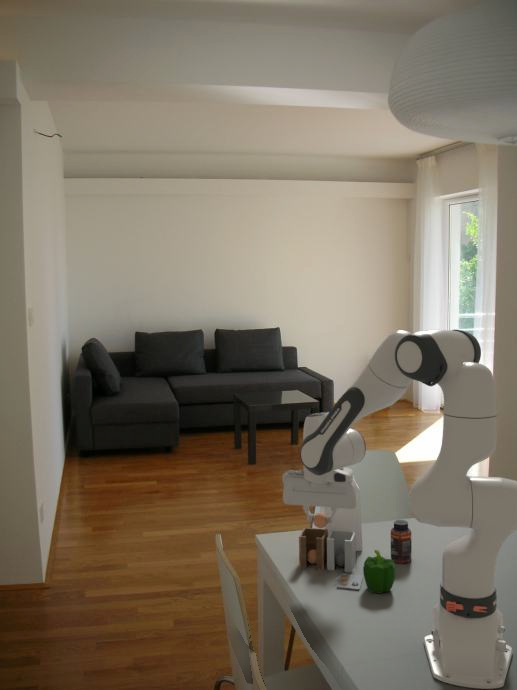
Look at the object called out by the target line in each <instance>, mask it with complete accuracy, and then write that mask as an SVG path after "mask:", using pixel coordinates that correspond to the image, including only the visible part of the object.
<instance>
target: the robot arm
mask: <svg viewBox="0 0 517 690" xmlns="http://www.w3.org/2000/svg"><path fill="white" fill-rule="evenodd" d="M481 348H482V347H481V345H480V342H479V341H478V339H477V338H476V337H475V336H474V335H473V334H472V333H470V332H467V331H465V330H462V329H440V328H439V329H437V328H436V329H435V328H434V329H430V330H429V329H428V330H424V331H413V332H411V331H408V330H399V329H398V330H395V331H393V332H391V333H390V334H389V335H388V336H387V337H386V338H385V339H384V340H383V342H382V343H381V344H380V345H379V346H378V348H377V349H376V351H374V353H373V355H372V357H371V358H370V359H369V361H368V363H367V365H366V366H365V368H364V369H363V370H362V372H361V373H360V375H359V376H358V377H357V379H356V380H355V381H354V382H353V383H352V385H350V387H349V388H348V389H347V390H346V391H345V392H344V393H343V394H342V395H341V396H340V397H339V399H338V400H337V401H336V403H334V405H333V406H332V408H331V409H330V411H323V412H315V413H310V414H309V415H307V416H306V417H305V420H304V423H303V431H302V432H303V433H302V435H303V437H302V439H303V440H302V443H301V445H300V451H299V454H300V460H301V462H302V465H303V470H300V469H299V470H298V469H297V470H296V469H295V470H293V469H288V470H285V471H284V472H283V474H282V478H281V479H282V483H283V491H282V492H283V493H282V501H283V503H284V504H286V505H292V506H302V510H303V511H304V512H305V515H306V516H307V517H306V520H307V522H312V523H313V518H314V516H315V513H311V511H310V507H319V508H320V507H331V511H333V512H332V514H331V515H328V516H327V523H333V516H334V514H335V513H336V511H337V508H346V509H354V508H355V507H356V506H357V505H358V491H357V485H358V484H357V485H356V483H357V481H356V480H355V479H354V480H355V481H356V482H355V481H354V480H353V479H352V478H353V476H354V470H353V469H352V468H349V467H351V466H354V465H356V464H358V463H361V462H362V461H363V459H364V458H365V455H366V451H367V446H366V444H367V443H366V442H365V440H366V439H365V438H364V436H363V435H362V433H361V432H360V431H358V430H357V429H355V428H352V427H353V426H354V424H355V423H356V422H358V421H359V420H360V419H362V418H365V417H366V416H368V415H371V414H373V413H376V412H378V411H381V410H383V409H386V408H389V407H391V406H393V405H395V403H397V401H399V400H400V399H401V398H402V397H403V395H405V394H406V392H407V390H408V388H409V387H410V385H411V384H412V382H413V381H416V382H420V383H422V384H424V385H426V386H429V387H433V386H436V385H437V386H439V388H440V389H441V391H442V394H443V409H442V410H443V413H442V414H443V418H442V419H443V422H442V424H443V425H442V437H441V438H442V439H441V446H440V449H439V450H440V451H439V454H438V456H437V458H436V460H435V462H434V463H433V464H432V466H431V467H430V468H429V470H427V471H426V472H425V473H424V474H423V475H422V476H421V475H420V477H418V478H417V479H416V480H415V481H414V482H413V483H412V485H411V486H410V489H409V491H408V499H407V501H408V507H409V510H410V513H411V514H412V515H413V518H414V519H415V520H416V521H417V522H419V523H421V524H427V525H429V526H435V527H439V528H461V529H462V528H463V529H465V528H466V529H467V528H468V529H469V531H468V532H467V533H466V534H465V535H464V536H462V537H459V538H458V539H455V540H453V541H452V542H450V543H449V544H448V545H447V546H446V548H444V550H443V553H442V562H441V563H442V565H441V567H442V571H441V572H442V574H441V577H442V578H441V579H442V580H441V582H440V585H439V586H440V587H439V602H438V603H437V604H435V606H433V608H432V609H433V611H432V612H433V614H432V615H433V617H432V629H431V634H428V635H426V636H424V637H423V646H424V648H425V652H426V656H427V660H428V663H429V666H430V667H429V668H430V670H431V674H432V677H433V678H434V679H436V680H438V681H441V682H442V683H445V684H446V683H447V684H450V685H453V686H458V687H462V688H463V687H464V688H469V689H470V688H471V689H481V690H484V689H486V690H493V689H499V688H502V687H504V686H505V681H506V678H507V674H508V670H509V667H510V663H511V659H512V656H513V648H512V646H510V645H508V644H507V641H506V640H504V636H503V634H505V631H506V630H505V629H506V627H505V626H504V615H503V613H501V611H500V610H499V609H498V607H497V602H498V595H497V589H496V587H495V586H496V585H495V584H496V583H495V580H496V566H497V559H498V555H499V553H500V551H501V548H502V546H503V545H504V544H505V542H506V540H507V539H508V538H509V537H510V536H511V535H512V534H513V533H514V532H515V531H517V480H514V479H510V478H505V477H500V476H472V475H471V476H469V475H467V474H468V472H469V471H470V469H471V468H472V467H474V466H475V465H477V464H478V463H481V462H483V461H485V460H487V459H488V458H490V457H491V456H492V455H493V454H494V453H495V451H496V449H497V444H498V443H497V441H498V439H497V435H498V434H497V432H498V431H497V429H498V407H497V404H498V403H497V392H496V385H495V380H494V375H493V372H492V371H491V370H490V368H488V367H487V366H486V365H485V364H482V363H480V360H481V358H482V350H481Z"/></svg>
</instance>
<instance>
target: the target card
mask: <svg viewBox="0 0 517 690" xmlns="http://www.w3.org/2000/svg"><path fill="white" fill-rule="evenodd" d="M363 581H364V575H357V574H356V575H355V574H349V573H348V574H345V573H341V574H340V577H339V580H338V582H337V585H336V589H340V590H348V591H349V590H351V591H360V590H361V586H362V583H363Z"/></svg>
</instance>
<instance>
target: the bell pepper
mask: <svg viewBox="0 0 517 690" xmlns="http://www.w3.org/2000/svg"><path fill="white" fill-rule="evenodd" d="M374 553H375V555H376V556H373V557H372V556H367V557H366V559H365V560H364V563H363V568H362V569H363V579H364V581H365V584H366V587H367V589H368V591H370V592H371V593H375V594H382V593H383V592H384V593H388V592H390V591H391V589H392V588H393V585H394V583H395V577H396V566H395V562H394V561H393V560H392V559H391V558H385V557H384V556H382V555H381V551H380V550H379V549H374Z"/></svg>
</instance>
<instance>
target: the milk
mask: <svg viewBox="0 0 517 690" xmlns="http://www.w3.org/2000/svg"><path fill="white" fill-rule="evenodd" d="M352 479H353V480H354V481H355V482H356V485H357V491H358V505H357V506H356V507H355V508H354V509H346V508H337V511H336V513H335V514H334V516H333V523H327V525H326V526H325V527H324V528H319V529H327V530H328V536H329V534H330V531H331V530H339V531H350V532H355V536H356V552H360V551H361V552H363V549H364V548H363V533H362V532H363V530H362V528H363V527H362V510H361V509H362V508H361V507H362V506H361V505H362V504H361V503H362V502H361V501H362V500H361V491H360V487H359V485H358V483H357V481H356V480H355V476H354V475H353V478H352ZM332 512H333V511H331V507H319V513H323V514H325V515H326V516H328V515H331V514H332Z"/></svg>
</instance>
